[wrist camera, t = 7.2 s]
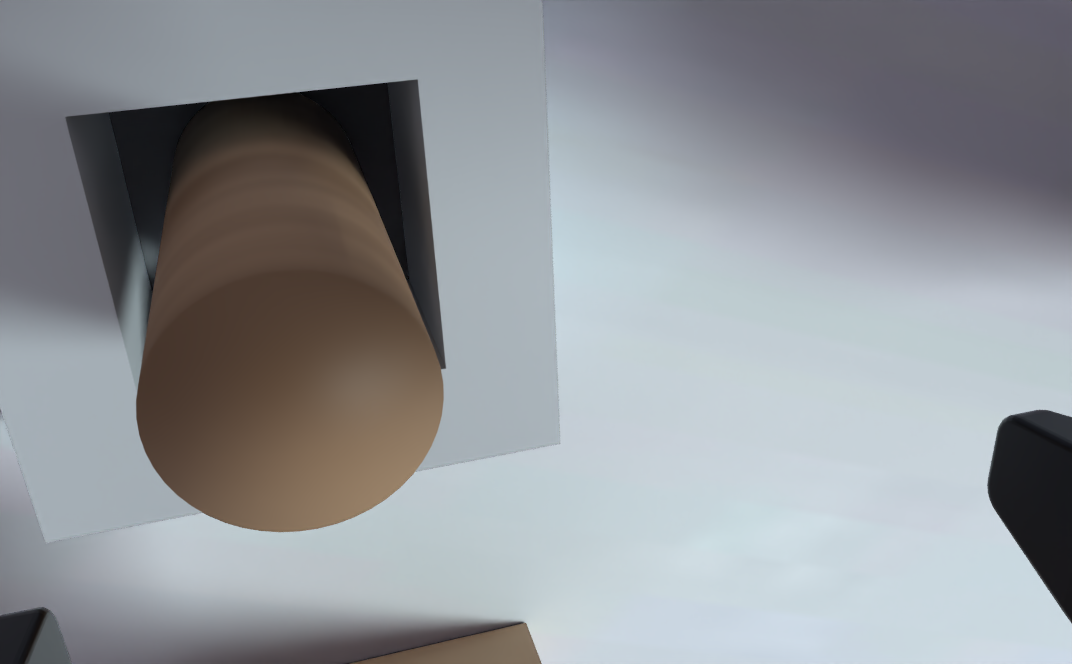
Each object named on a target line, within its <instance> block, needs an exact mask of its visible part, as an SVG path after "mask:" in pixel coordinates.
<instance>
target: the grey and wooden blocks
mask: <svg viewBox="0 0 1072 664" xmlns="http://www.w3.org/2000/svg"><path fill="white" fill-rule="evenodd" d="M378 83H388V92H389V101H390V110H391V119H392V128H393V137H394V146H395V155H396V164H397V173H398V182H399V191H400V200H401V209H402V218H403V227H404V235H405V244H406V253H407V262H408V271H409V280H407V283H408V286H409V288H410V290H411V293H412V295H413V298H414V300H415V303H416V305H417V308H418V310H419V313H420V315H421V317H422V320H423V322H424V325H425V327H426V330H427V332H428V335H429V337H430V340H431V342H432V344H433V347H434V349H435V352H436V355H437V358H438V361H439V364H440V367H441V373H442V378H443V388H444V402H443V410H442V417H441V421H440V424H439V428H438V432H437V434H436V437H435V439H434V441H433V444H432V446H431V448H430V450H429V451H428V453H427V455H426V457H425V458H424V460H423V462H422V463H421V464H420V466H419V467H418V468H417V470H416V471H415V472H417V471H422V470H427V469H432V468H438V467H443V466H448V465H453V464H458V463H463V462H469V461H474V460H479V459H484V458H489V457H495V456H500V455H505V454H510V453H515V452H520V451H526V450H531V449H536V448H541V447H546V446H552V445H557V444H560V424H559V399H558V374H557V349H556V324H555V299H554V274H553V249H552V224H551V199H550V175H549V150H548V125H547V100H546V75H545V50H544V25H543V0H0V409H1V412H2V415H3V418H4V421H5V424H6V427H7V430H8V433H9V436H10V439H11V442H12V445H13V448H14V451H15V454H16V457H17V460H18V463H19V466H20V469H21V472H22V475H23V478H24V481H25V484H26V487H27V490H28V493H29V496H30V498H31V501H32V504H33V507H34V510H35V513H36V516H37V519H38V522H39V525H40V528H41V531H42V534H43V537H44V540H45V543H49V542H54V541H59V540H65V539H70V538H75V537H80V536H85V535H91V534H96V533H101V532H106V531H111V530H116V529H122V528H127V527H132V526H137V525H142V524H148V523H153V522H158V521H163V520H168V519H173V518H179V517H184V516H189V515H194V514H199V513H203V512H201V511H199V510H197V509H196V508H194V507H192V506H191V505H189V504H188V503H187V502H185V501H184V500H183V499H182V498H180V497H179V496H178V495H176V494H175V493H174V492H173V491H172V490H171V489H170V488H169V487H168V486H167V485H166V484H165V483H164V481H163V480H162V479H161V477H160V476H159V475H158V473H157V472H156V471H155V469H154V468H153V466H152V464H151V462H150V460H149V459H148V457H147V455H146V453H145V450H144V447H143V445H142V442H141V439H140V436H139V431H138V425H137V420H136V397H137V390H138V383H139V377H140V370H141V364H142V358H143V351H144V345H145V339H146V332H147V326H148V320H149V313H150V307H151V300H152V290H151V286H150V282H149V277H148V273H147V269H146V265H145V261H144V257H143V253H142V248H141V244H140V240H139V236H138V232H137V228H136V224H135V219H134V215H133V211H132V207H131V203H130V199H129V194H128V190H127V186H126V182H125V178H124V174H123V170H122V165H121V161H120V157H119V153H118V149H117V145H116V141H115V136H114V132H113V128H112V124H111V120H110V116H109V112H115V111H124V110H134V109H143V108H152V107H162V106H171V105H181V104H190V103H199V102H209V101H218V100H228V99H237V98H246V97H256V96H265V95H275V94H284V93H293V92H303V91H312V90H322V89H331V88H340V87H350V86H359V85H368V84H378ZM350 664H541V661H540V658H539V656H538V653H537V650H536V648H535V645H534V643H533V640H532V637H531V635H530V632H529V630H528V627H527V624H526V623H523V624H518V625H514V626H510V627H505V628H501V629H497V630H493V631H488V632H484V633H480V634H475V635H471V636H467V637H462V638H458V639H454V640H449V641H445V642H441V643H437V644H432V645H428V646H424V647H419V648H415V649H411V650H406V651H402V652H398V653H393V654H389V655H385V656H381V657H376V658H372V659H368V660H363V661H359V662H355V663H350Z"/></svg>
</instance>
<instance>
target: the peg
mask: <svg viewBox="0 0 1072 664" xmlns="http://www.w3.org/2000/svg"><path fill="white" fill-rule="evenodd" d="M443 402H444V388H443V378H442V373H441V367H440V364H439V361H438V358H437V355H436V352H435V349H434V347H433V344H432V342H431V340H430V337H429V335H428V332H427V330H426V327H425V325H424V322H423V320H422V317H421V315H420V313H419V310H418V308H417V305H416V303H415V300H414V298H413V295H412V293H411V290H410V288H409V286H408V283H407V281H406V278H405V276H404V273H403V271H402V268H401V266H400V263H399V261H398V258H397V256H396V254H395V251H394V249H393V246H392V244H391V241H390V239H389V236H388V234H387V231H386V229H385V227H384V224H383V222H382V219H381V217H380V214H379V212H378V209H377V207H376V204H375V202H374V200H373V197H372V195H371V192H370V190H369V187H368V185H367V182H366V180H365V177H364V175H363V172H362V170H361V168H360V165H359V163H358V160H357V158H356V155H355V153H354V150H353V148H352V145H351V143H350V141H349V139H348V137H347V135H346V133H345V132H344V130H343V129H342V127H341V126H340V124H339V123H338V122H337V121H336V120H335V118H334V117H333V116H332V115H331V114H330V113H329V112H328V111H326V110H325V109H324V108H323V107H322V106H320V105H319V104H317V103H316V102H314V101H313V100H311V99H309V98H307V97H305V96H303V95H301V94H298V93H296V92H293V93H284V94H275V95H265V96H256V97H246V98H237V99H228V100H218V101H211V102H210V103H208V104H206V105H205V106H204V107H203V108H202V109H201V110H199V111H198V112H197V113H196V114H195V115H194V117H193V118H192V119H191V120H190V121H189V123H188V124H187V126H186V127H185V129H184V130H183V132H182V134H181V136H180V139H179V141H178V144H177V147H176V150H175V154H174V161H173V167H172V173H171V180H170V186H169V193H168V199H167V205H166V212H165V218H164V224H163V231H162V237H161V243H160V250H159V256H158V262H157V269H156V275H155V281H154V288H153V294H152V300H151V307H150V313H149V320H148V326H147V332H146V339H145V345H144V351H143V358H142V364H141V370H140V377H139V383H138V390H137V397H136V420H137V425H138V431H139V436H140V439H141V442H142V445H143V447H144V450H145V453H146V455H147V457H148V459H149V460H150V462H151V464H152V466H153V468H154V469H155V471H156V472H157V473H158V475H159V476H160V477H161V479H162V480H163V481H164V483H165V484H166V485H167V486H168V487H169V488H170V489H171V490H172V491H173V492H174V493H175V494H176V495H178V496H179V497H180V498H182V499H183V500H184V501H185V502H187V503H188V504H189V505H191V506H192V507H194V508H196V509H197V510H199V511H201V512H203V513H204V514H206V515H208V516H210V517H213V518H215V519H218V520H220V521H222V522H225V523H228V524H232V525H235V526H239V527H242V528H247V529H253V530H259V531H271V532H293V531H304V530H311V529H318V528H322V527H326V526H330V525H333V524H337V523H340V522H342V521H345V520H348V519H351V518H353V517H355V516H357V515H359V514H361V513H363V512H365V511H367V510H369V509H371V508H373V507H374V506H376V505H377V504H379V503H381V502H382V501H384V500H385V499H387V498H388V497H389V496H390V495H392V494H393V493H394V492H395V491H397V490H398V489H399V488H400V487H401V486H402V485H403V484H404V483H405V482H406V481H407V480H408V479H409V478H410V477H411V476H412V475H413V473H414V472H415V471H416V470H417V468H418V467H419V466H420V464H421V463H422V462H423V460H424V458H425V457H426V455H427V453H428V451H429V450H430V448H431V446H432V444H433V441H434V439H435V437H436V434H437V432H438V428H439V424H440V421H441V417H442V410H443Z"/></svg>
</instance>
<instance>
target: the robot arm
mask: <svg viewBox="0 0 1072 664" xmlns="http://www.w3.org/2000/svg"><path fill="white" fill-rule="evenodd" d="M987 486H988V494H989V498H990V501H991V503H992V506H993V508H994V509H995V511H996V512H997V514H998V515H999V517H1000V518H1001V520H1002V521H1003V523H1004V524H1005V526H1006V527H1007V529H1008V530H1009V532H1010V533H1011V535H1012V536H1013V538H1014V539H1015V541H1016V542H1017V544H1018V545H1019V547H1020V548H1021V550H1022V551H1023V553H1024V554H1025V555H1026V557H1027V558H1028V560H1029V561H1030V563H1031V564H1032V566H1033V567H1034V569H1035V570H1036V572H1037V573H1038V575H1039V576H1040V578H1041V579H1042V581H1043V582H1044V584H1045V585H1046V587H1047V588H1048V590H1049V591H1050V593H1051V594H1052V596H1053V597H1054V599H1055V600H1056V601H1057V603H1058V604H1059V606H1060V607H1061V609H1062V610H1063V612H1064V613H1065V615H1066V616H1067V617H1068V619H1069V620H1070V622H1071V623H1072V417H1069V416H1066V415H1062V414H1059V413H1055V412H1052V411H1048V410H1035V411H1030V412H1025V413H1020V414H1015V415H1010V416H1008V417H1007V418H1005V419H1004V420H1003V421H1002V422H1001V424H1000V425H999V428H998V431H997V436H996V441H995V446H994V451H993V456H992V461H991V467H990V472H989V477H988V484H987ZM0 664H72V663H71V660H70V657H69V654H68V651H67V648H66V646H65V643H64V640H63V637H62V634H61V631H60V628H59V625H58V622H57V620H56V618H55V616H54V615H53V613H52V612H51V611H50V610H48V609H46V608H44V607H40V608H35V609H30V610H24V611H19V612H14V613H9V614H4V615H1V616H0Z"/></svg>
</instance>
